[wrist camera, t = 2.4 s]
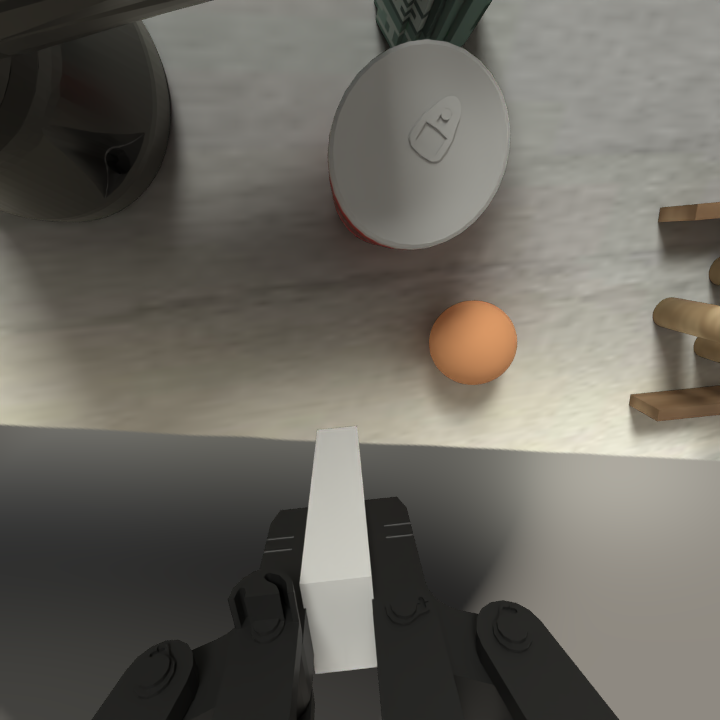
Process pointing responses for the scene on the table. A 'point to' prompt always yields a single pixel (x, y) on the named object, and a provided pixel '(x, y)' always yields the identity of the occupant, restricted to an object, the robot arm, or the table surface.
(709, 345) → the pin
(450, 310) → the ball
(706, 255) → the table surface
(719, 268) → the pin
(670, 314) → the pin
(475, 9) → the can
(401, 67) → the canned food
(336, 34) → the table surface
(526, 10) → the table surface
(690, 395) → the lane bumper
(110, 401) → the table surface
